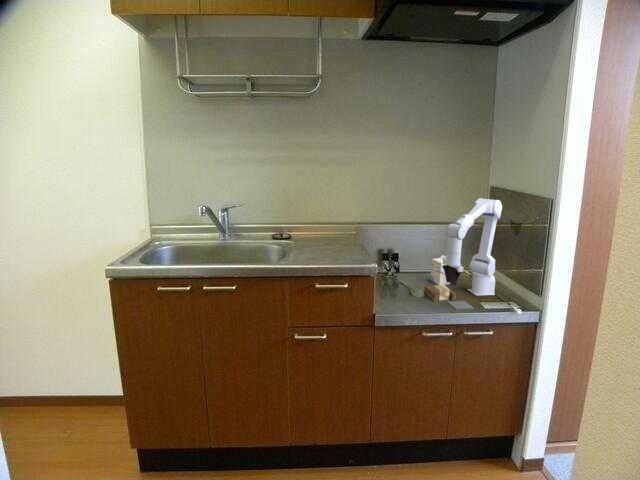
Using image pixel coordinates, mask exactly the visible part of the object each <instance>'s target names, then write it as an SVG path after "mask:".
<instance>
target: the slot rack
mask: <svg viewBox="0 0 640 480" xmlns="http://www.w3.org/2000/svg"><path fill="white" fill-rule="evenodd" d="M447 288H448V289H450V288H449V287H447ZM423 291H424V293H425V295H427V296H428V297H429V298H430V299H431V300H432V301H433V302H438V301H439V300H438V294H437V293H435V292H434V289H432V288H430V287H429V286H426V285H425V286H424V290H423ZM456 299H457V293H456V292H454V291H453V290H452V289H450V290H449V300H450V301H457V300H456Z"/></svg>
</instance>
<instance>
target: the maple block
mask: <svg viewBox="0 0 640 480" xmlns="http://www.w3.org/2000/svg"><path fill="white" fill-rule="evenodd" d="M448 288H449V287H447V285H438V284H434V285H433V291H434V292H435V293H437V294H438V301H449V300H450V298H449V290H451V289H450V288H449V289H448Z"/></svg>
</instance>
